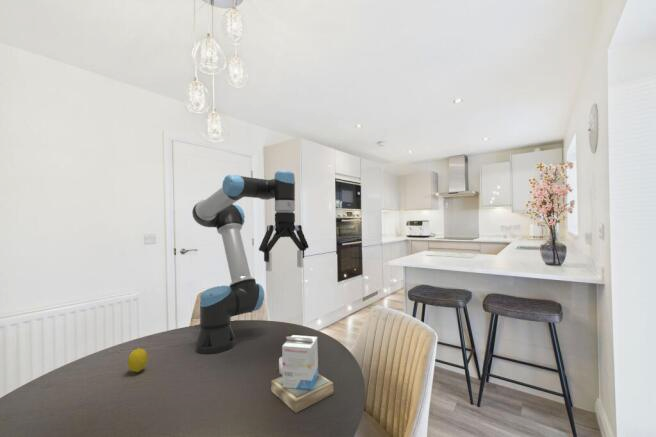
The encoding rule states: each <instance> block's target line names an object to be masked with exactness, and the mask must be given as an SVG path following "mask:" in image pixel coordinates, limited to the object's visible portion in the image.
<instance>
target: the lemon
mask: <svg viewBox="0 0 656 437" xmlns="http://www.w3.org/2000/svg"><path fill="white" fill-rule="evenodd" d="M147 363H148V354H147V351H146V350H145V349H143V348H139V347H138V348H136V349H134V350H133V351H131V353H130V354H129V356H128V358H127V367H128V369H129V371H131V372H135V373H139V372H140V371H142V370H143V369H144V368H145V367H146V366H147Z"/></svg>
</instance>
